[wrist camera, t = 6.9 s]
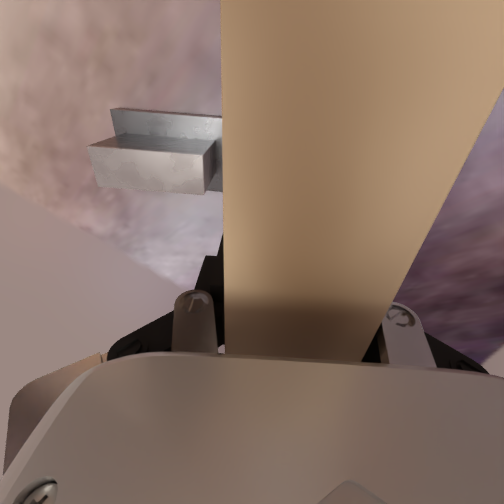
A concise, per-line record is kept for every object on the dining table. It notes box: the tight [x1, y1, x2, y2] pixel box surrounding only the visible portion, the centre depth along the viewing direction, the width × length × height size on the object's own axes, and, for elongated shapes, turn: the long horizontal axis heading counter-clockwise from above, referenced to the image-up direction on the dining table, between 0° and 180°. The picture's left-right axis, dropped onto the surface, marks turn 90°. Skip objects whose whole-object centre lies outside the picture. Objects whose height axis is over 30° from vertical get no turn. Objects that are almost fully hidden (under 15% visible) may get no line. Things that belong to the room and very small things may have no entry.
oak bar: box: [220, 0, 504, 362], centre depth 11 cm, size 4×24×6 cm, turn 177°
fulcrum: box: [87, 108, 223, 195], centre depth 26 cm, size 12×8×9 cm, turn 86°
